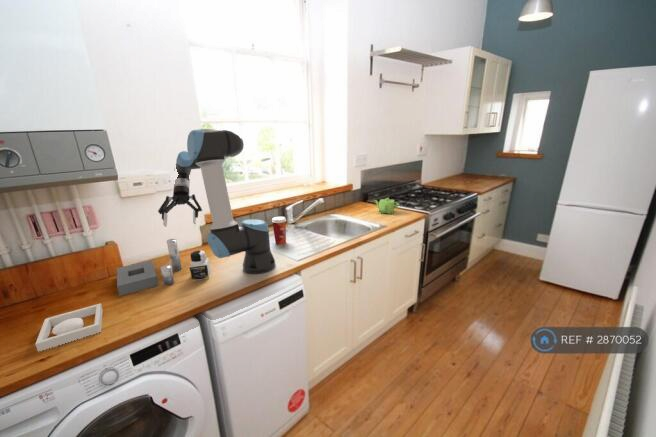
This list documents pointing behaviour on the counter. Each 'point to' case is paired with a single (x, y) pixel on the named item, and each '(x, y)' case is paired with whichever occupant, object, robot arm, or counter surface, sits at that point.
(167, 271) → the silver upright block
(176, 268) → the tall steel pin
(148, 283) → the bored block
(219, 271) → the counter surface
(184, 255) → the counter surface
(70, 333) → the grey rectangular frame
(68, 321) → the white rounded block
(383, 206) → the kettle
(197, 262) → the medicine bottle
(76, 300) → the counter surface
